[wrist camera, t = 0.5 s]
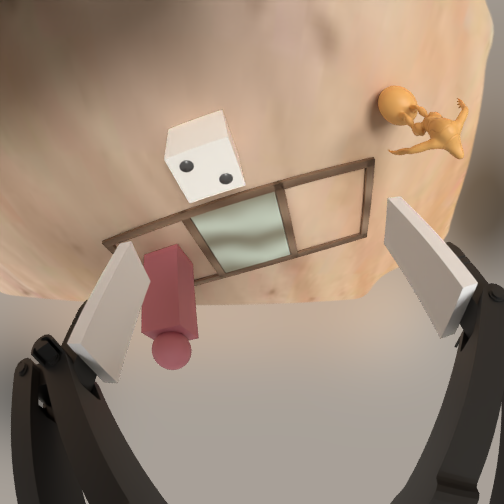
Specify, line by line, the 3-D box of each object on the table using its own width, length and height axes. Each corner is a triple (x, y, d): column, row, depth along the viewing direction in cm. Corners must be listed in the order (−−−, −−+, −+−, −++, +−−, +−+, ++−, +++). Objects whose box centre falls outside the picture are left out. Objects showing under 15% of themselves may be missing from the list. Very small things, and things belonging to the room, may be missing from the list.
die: (168, 129, 22) (164, 159, 19) (222, 109, 22) (228, 136, 19) (189, 169, 26) (189, 204, 23) (237, 153, 26) (245, 185, 23)
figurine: (366, 131, 25) (430, 213, 18) (336, 92, 21) (410, 170, 14) (421, 90, 21) (500, 159, 14) (399, 46, 17) (495, 106, 10)
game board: (102, 240, 32) (102, 243, 31) (373, 157, 28) (374, 159, 28) (158, 293, 44) (158, 295, 43) (365, 235, 40) (366, 237, 40)
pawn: (144, 254, 35) (142, 367, 27) (177, 243, 35) (182, 361, 26) (162, 273, 39) (165, 375, 31) (192, 264, 39) (202, 370, 30)
